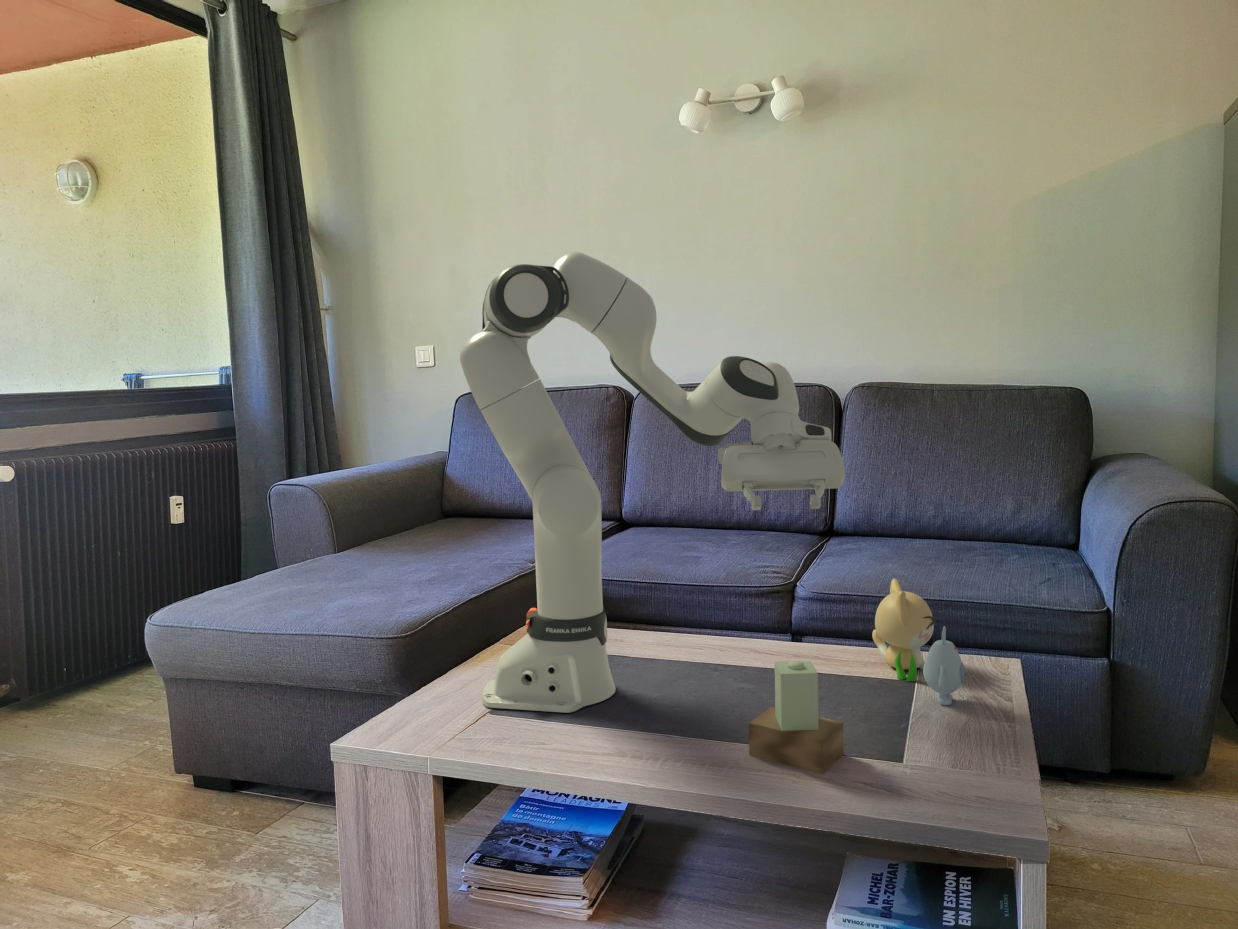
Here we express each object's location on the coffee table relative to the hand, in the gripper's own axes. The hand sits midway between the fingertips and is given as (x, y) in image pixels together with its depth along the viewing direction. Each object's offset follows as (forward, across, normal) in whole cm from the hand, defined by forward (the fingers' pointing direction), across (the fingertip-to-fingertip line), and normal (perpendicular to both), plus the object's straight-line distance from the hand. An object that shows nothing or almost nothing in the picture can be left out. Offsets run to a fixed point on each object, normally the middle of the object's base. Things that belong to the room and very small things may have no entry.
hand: (786, 507), depth 142 cm
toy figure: (+25, +24, +20) cm, 40 cm away
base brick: (+38, -2, +6) cm, 39 cm away
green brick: (+35, -2, +3) cm, 35 cm away
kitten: (+13, +22, +31) cm, 40 cm away
